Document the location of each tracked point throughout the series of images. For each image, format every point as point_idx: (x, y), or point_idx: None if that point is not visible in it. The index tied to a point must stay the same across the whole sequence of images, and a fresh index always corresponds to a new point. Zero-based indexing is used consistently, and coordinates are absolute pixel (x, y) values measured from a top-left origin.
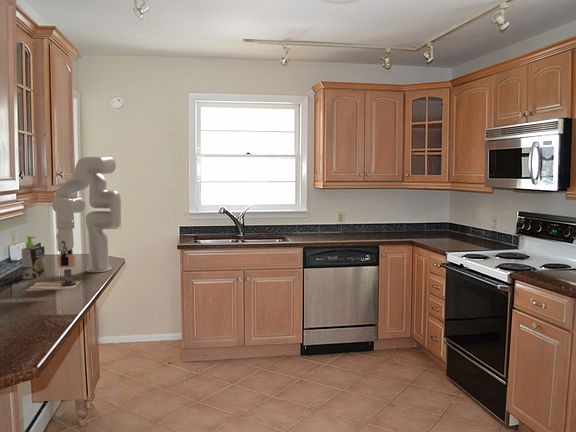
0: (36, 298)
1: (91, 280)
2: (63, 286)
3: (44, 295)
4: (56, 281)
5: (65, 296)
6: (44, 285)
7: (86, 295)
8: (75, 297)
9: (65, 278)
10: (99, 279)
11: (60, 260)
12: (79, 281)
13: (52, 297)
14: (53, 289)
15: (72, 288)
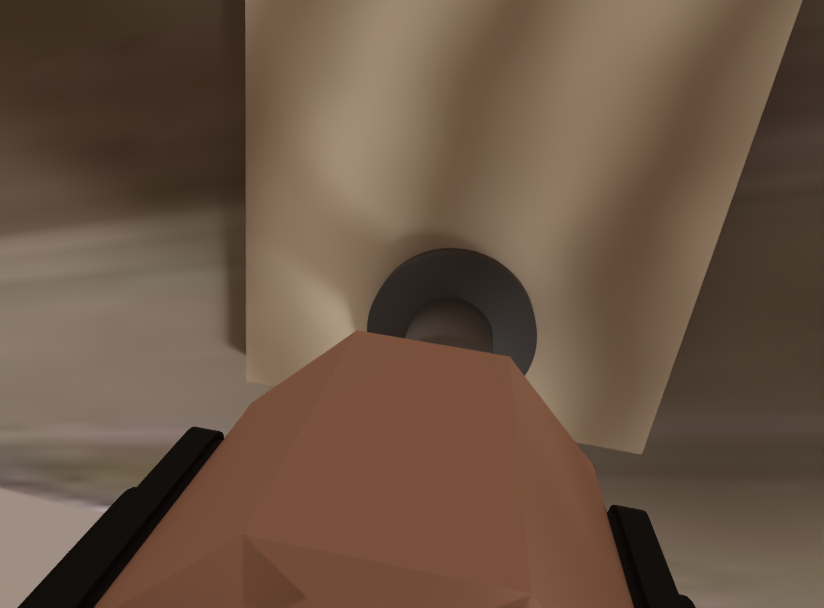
0: (35, 11)
1: (760, 516)
2: (380, 277)
3: (160, 83)
4: (745, 149)
5: (107, 307)
6: (519, 2)
7: (131, 465)
8: (71, 389)
9: (408, 338)
10: (769, 582)
11: (196, 494)
12: (596, 432)
13: (74, 188)
14: (247, 178)
15: (261, 375)
